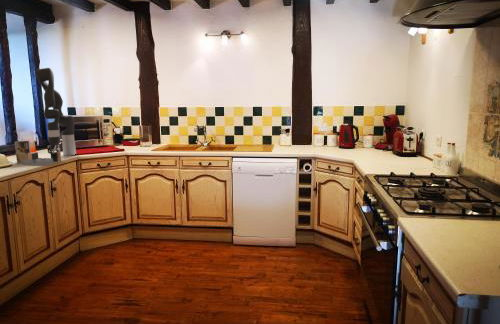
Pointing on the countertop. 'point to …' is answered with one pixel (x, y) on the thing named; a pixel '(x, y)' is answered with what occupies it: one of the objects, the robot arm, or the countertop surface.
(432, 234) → the countertop surface
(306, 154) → the countertop surface
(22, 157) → the coffee box
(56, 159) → the dark brown block
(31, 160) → the grey piece
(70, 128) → the robot arm
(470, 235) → the countertop surface
